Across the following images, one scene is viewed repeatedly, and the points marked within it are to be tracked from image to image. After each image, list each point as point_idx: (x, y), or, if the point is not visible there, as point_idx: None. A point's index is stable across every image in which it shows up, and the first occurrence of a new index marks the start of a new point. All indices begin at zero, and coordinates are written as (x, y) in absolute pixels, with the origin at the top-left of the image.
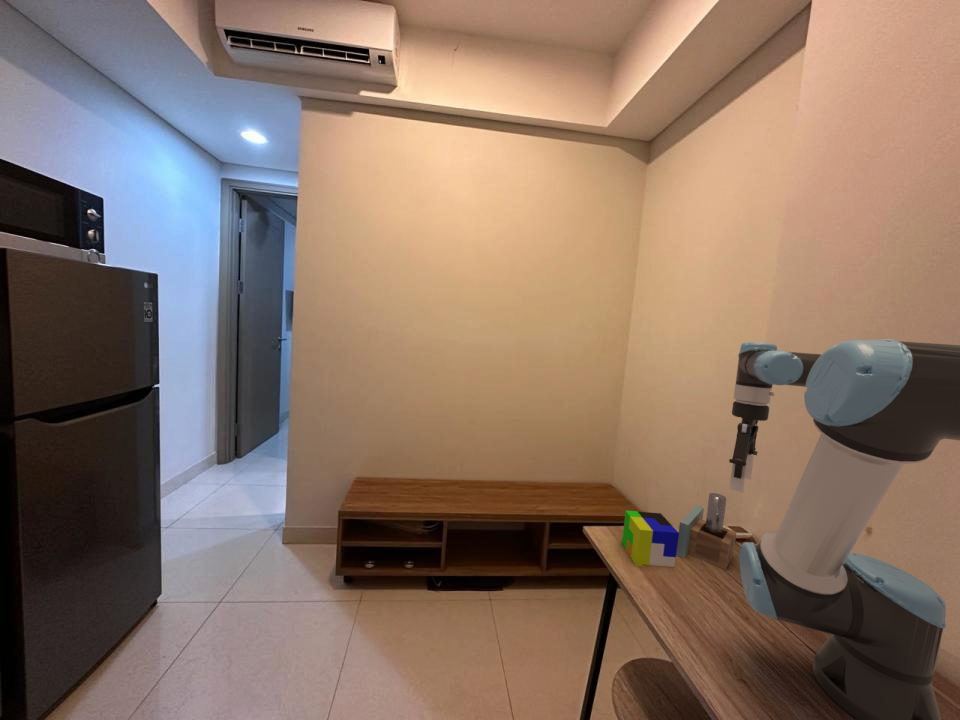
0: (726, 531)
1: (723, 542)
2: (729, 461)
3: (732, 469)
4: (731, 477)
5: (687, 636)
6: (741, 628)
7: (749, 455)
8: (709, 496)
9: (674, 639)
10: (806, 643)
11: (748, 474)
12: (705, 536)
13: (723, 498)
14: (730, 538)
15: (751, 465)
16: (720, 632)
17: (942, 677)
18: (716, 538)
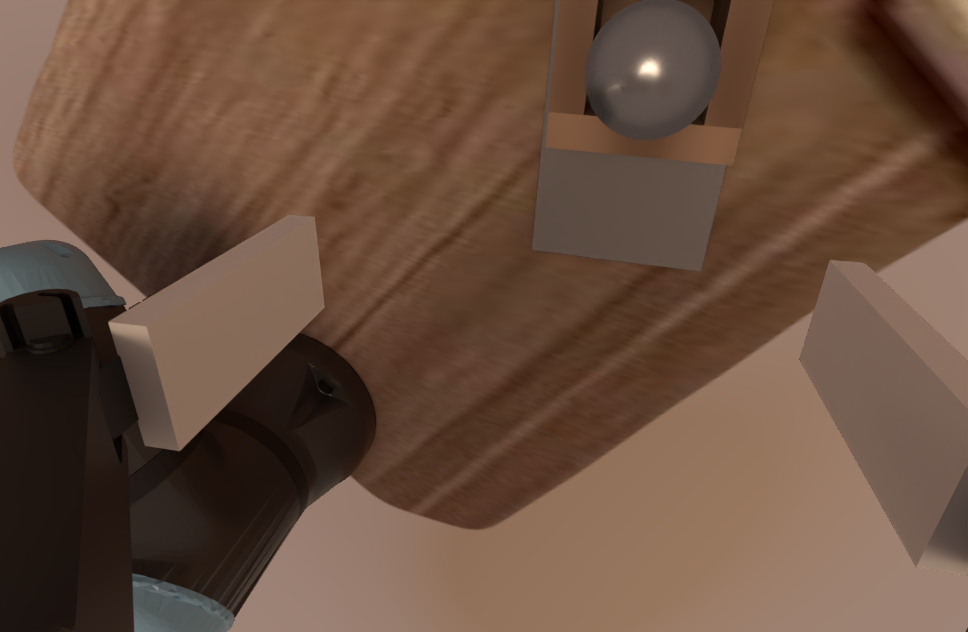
0: (706, 118)
1: (548, 121)
2: (24, 296)
3: (173, 290)
4: (230, 255)
5: (118, 76)
6: (279, 195)
7: (933, 520)
8: (624, 8)
9: (76, 49)
10: (363, 328)
11: (820, 365)
12: (558, 28)
13: (635, 119)
14: (621, 146)
15: (858, 450)
16: (213, 149)
17: (480, 526)
18: (561, 85)
